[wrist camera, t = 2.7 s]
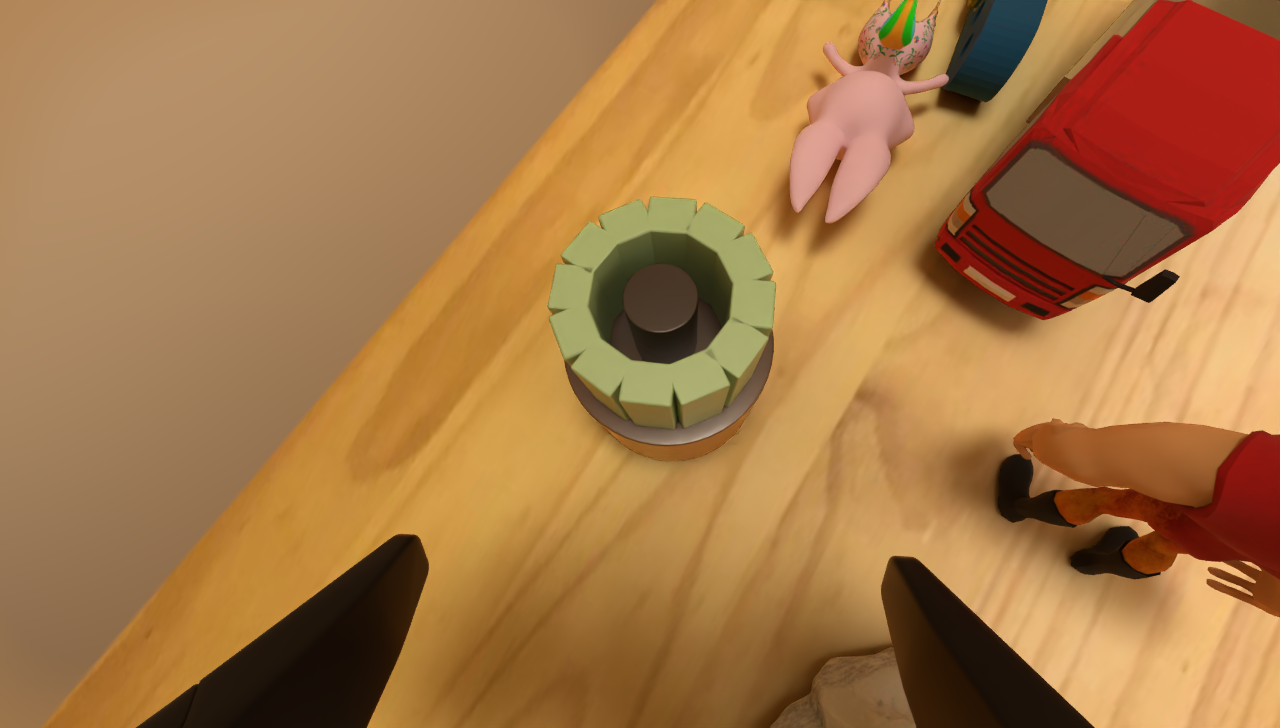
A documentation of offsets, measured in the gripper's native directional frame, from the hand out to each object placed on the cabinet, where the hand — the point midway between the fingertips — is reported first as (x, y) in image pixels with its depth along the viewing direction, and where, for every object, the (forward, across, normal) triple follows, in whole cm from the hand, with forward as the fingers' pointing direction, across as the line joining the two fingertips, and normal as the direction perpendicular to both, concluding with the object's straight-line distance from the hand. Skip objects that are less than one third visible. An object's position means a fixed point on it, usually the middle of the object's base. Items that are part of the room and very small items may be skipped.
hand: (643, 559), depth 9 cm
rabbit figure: (+23, -9, -6) cm, 25 cm away
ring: (+10, 0, 0) cm, 10 cm away
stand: (+14, 0, +4) cm, 14 cm away
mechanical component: (+28, -16, -14) cm, 35 cm away
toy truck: (+21, -20, -4) cm, 29 cm away
